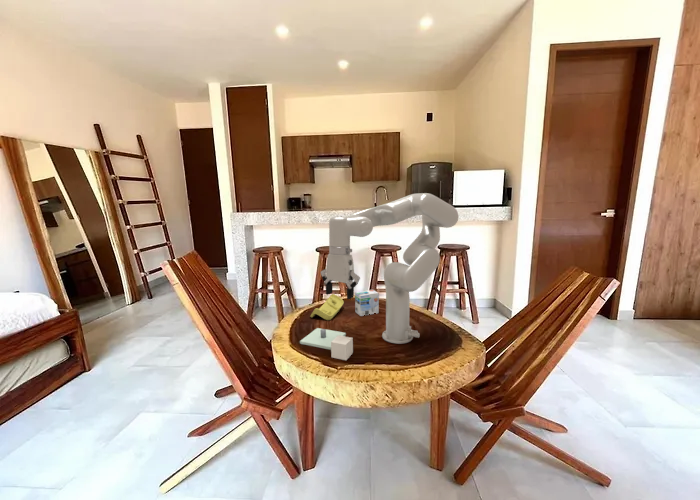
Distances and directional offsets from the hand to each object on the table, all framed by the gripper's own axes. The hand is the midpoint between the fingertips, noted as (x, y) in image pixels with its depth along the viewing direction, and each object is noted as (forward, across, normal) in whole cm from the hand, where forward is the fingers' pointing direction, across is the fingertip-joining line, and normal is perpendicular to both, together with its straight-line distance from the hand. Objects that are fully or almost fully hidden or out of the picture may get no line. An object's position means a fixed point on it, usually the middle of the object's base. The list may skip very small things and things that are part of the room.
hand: (339, 296), depth 114 cm
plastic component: (+22, +28, -29) cm, 46 cm away
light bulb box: (+21, +12, -40) cm, 47 cm away
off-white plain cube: (+22, -3, +2) cm, 22 cm away
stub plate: (+22, +11, -4) cm, 25 cm away
